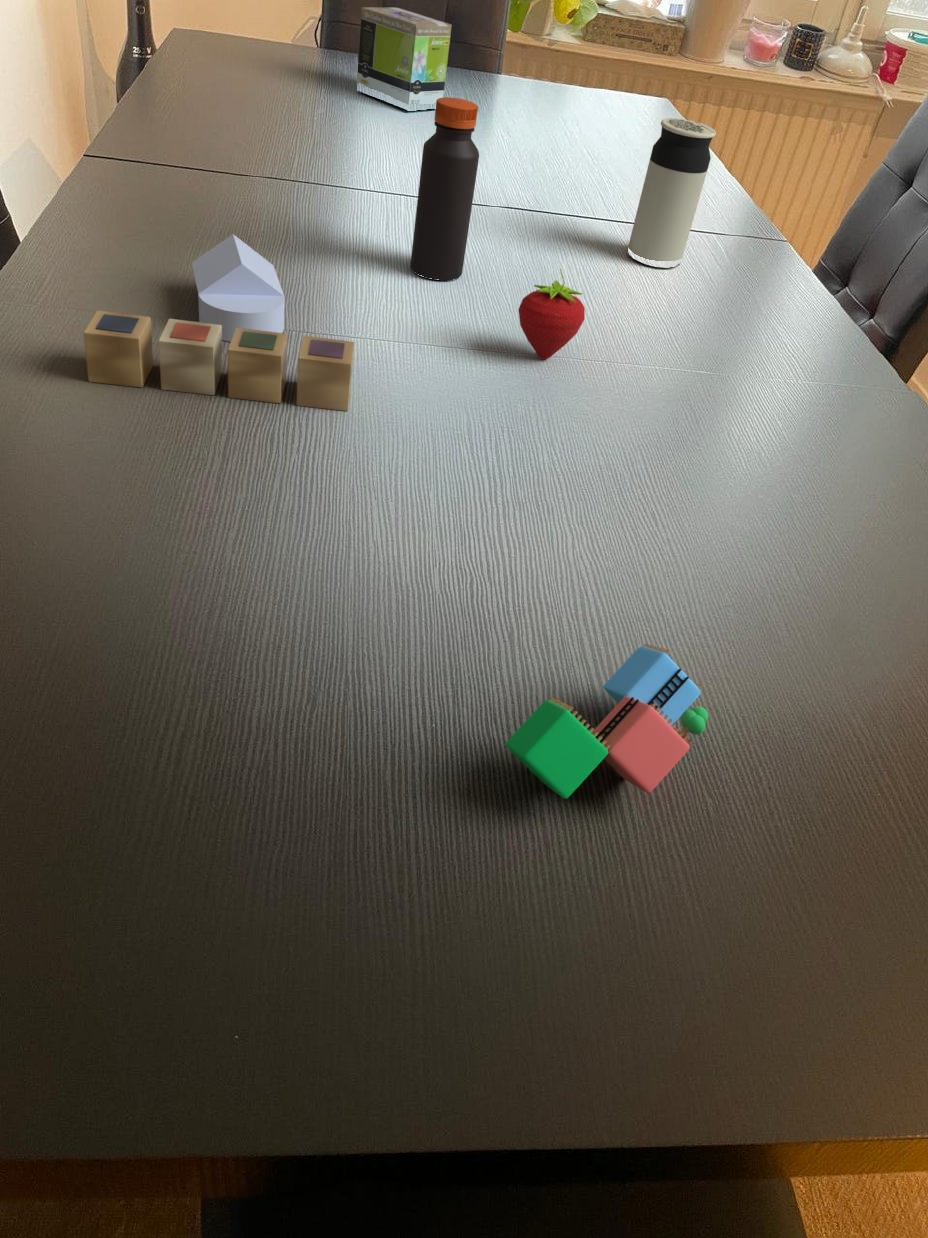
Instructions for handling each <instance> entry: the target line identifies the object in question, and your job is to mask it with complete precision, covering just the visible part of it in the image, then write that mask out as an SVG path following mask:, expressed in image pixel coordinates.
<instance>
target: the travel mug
mask: <svg viewBox="0 0 928 1238" xmlns="http://www.w3.org/2000/svg"><path fill="white" fill-rule="evenodd" d="M660 126H661V133H660V137H659V138H658V139H657V140H656V141H655V143H654V144H653V146H652V149H651V153H650V157H649V160H648V161H649V162H648V165H647V170H646V173H645V177H644V181H643V186H642V189H641V194H640V197H639V201H638V206H637V209H636V213H635V217H634V222H633V226H632V229H631V234H630V238H629V241H628V244H627V245H628V246H627V248H628V247H629V249H630V250H631V251H632V252H633V253H634V254H636V255H638V256H640V257H643V258H645V259H649V260H655V261H676V260H679V259H681V258H682V259H683V257H684V254H685V249H686V247H687V243H688V240H689V236H690V233H691V229H692V225H693V221H694V218H695V215H696V213H697V208H698V204H699V201H700V197H701V194H702V191H703V187H704V184H705V181H706V180H705V179H706V176H707V174H708V169H709V166H710V163H711V158H712V157H711V151H710V145H711V143H712V140H713V138H714V137H715V136H716V135H717V133H716V132H717V131H716V130H715V129H714V128H713V127H711V126H709V125H707V124H705V123H701V122H697V121H694V120H690V119H685V118H677V117H667V118H664V119H662V120H661V121H660Z"/></svg>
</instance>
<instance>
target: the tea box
mask: <svg viewBox="0 0 928 1238" xmlns="http://www.w3.org/2000/svg"><path fill="white" fill-rule="evenodd" d="M360 15H361V16H360V27H359V43H358V57H357V75H356V83H357V82H358V83H361V84H363V85H364V86H366V87H369V88H370V89H374V90H377V91H379V92H382V93H384V94H386V95H389V96H391V97H393V98H394V99H396V100H399V101H401V102H403V103H406V104H408V105H409V104H434V103H436V101H437V99H439V98H443V97H444V94H445V86H446V77H447V68H448V60H449V52H450V51H449V50H450V44H451V34H452V25H453V24H451V23H448V22H445V21H442V20H438V19H436V18H432V17H429V16H425V15H423V14H419V13H416V12H413V11H410V10H406V9H403V8H400V7H384V6H383V7H381V6H380V7H379V6H378V7H376V6H373V7H372V6H371V7H370V6H369V7H367V6H365V7H361V14H360Z"/></svg>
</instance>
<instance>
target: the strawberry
mask: <svg viewBox="0 0 928 1238" xmlns="http://www.w3.org/2000/svg"><path fill="white" fill-rule="evenodd" d="M559 271H560V274H561V278H562V282H563V283H562V284H560V283H559V280H557V279H555V280H554V281H553V282H552V283H551V285H539V284H534V285H533V286H534V287H535V288H538V289H536V290H534V291H532V292H530V293H528V294H527V295H525V296H524V297H523V298H522V300H521V302H520V304H519V307H518V317H519V319H518V320H519V325H520V328H521V330H522V332H523V334H524V335H525V337H526V340H527V342H528V343H529V345H530V346H531V347H532V349H533V350H534V352H535V354H536V356H537V357H538V358H539V359H541V360H548V359H550V358H552V356H553V355H555V354H556V353H557V352H558V351H559V350H561V349H562V348H563V347H565V346H566V345H567V344H568V343H569V341H571V340H572V339H573V338H574V337H575V336H576V335H577V334H578V332H579V331H580V329H581V326H582V325H583V323H584V321H585V318H586V316H585V315H586V313H585V312H586V309H585V305H584V304H583V302H582V301H581V300H580V299H579V298H578V297H577V296H575V295H579V296H580V295H581V296H583V293H582V292H579V291H576V290H574V289H571V287H568V286H565V284H566V282H565V278H564V275H563V271H562V268H559Z"/></svg>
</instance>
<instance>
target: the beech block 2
mask: <svg viewBox="0 0 928 1238" xmlns="http://www.w3.org/2000/svg"><path fill="white" fill-rule="evenodd" d="M287 359H288V333H285V332H283V333H277V332H269V331H261V330H253V329H244V328H235V331H234V334H233V336H232V339H231V342H229V344H228V348H227V397H228V398H229V399H238V400H247V401H248V400H249V401H256V402H262V403H263V402H265V403H273V404H281V402H282V398H283V394H284V391H285V387H286V381H287V365H288V364H287V363H288V360H287Z"/></svg>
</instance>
